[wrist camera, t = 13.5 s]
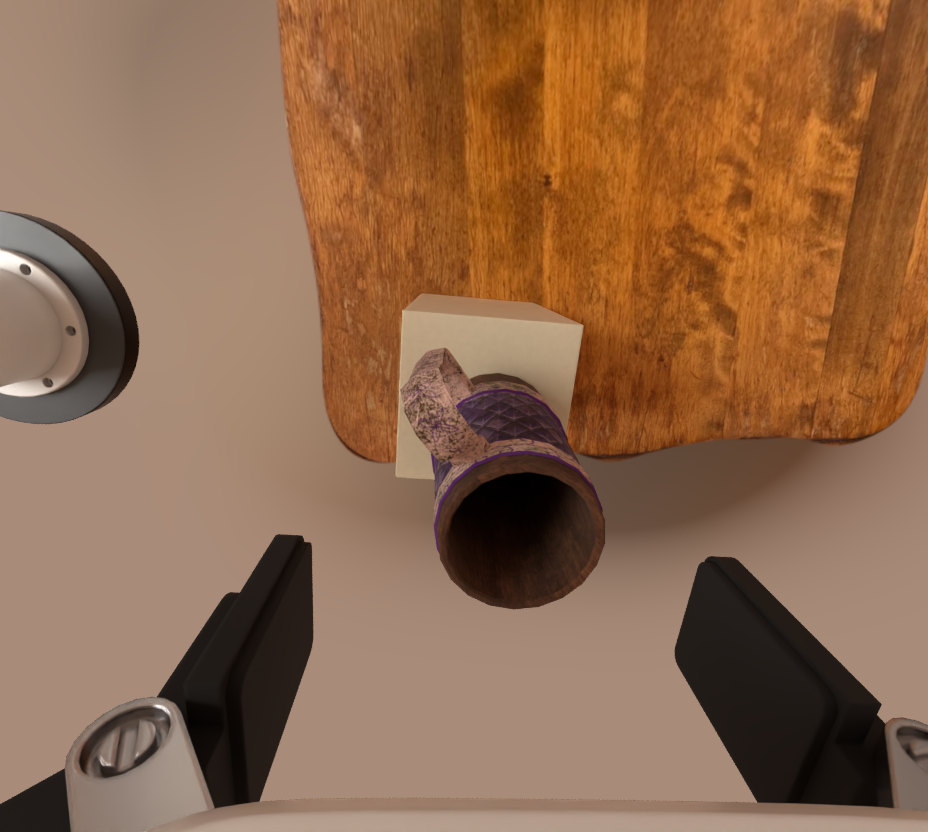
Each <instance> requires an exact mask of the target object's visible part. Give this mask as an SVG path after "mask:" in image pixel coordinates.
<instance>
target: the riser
mask: <svg viewBox="0 0 928 832" xmlns="http://www.w3.org/2000/svg"><path fill="white" fill-rule="evenodd" d="M583 327H584V326H583V325H582V324H580V323H577V322H575V321H573V320H571V319H569V318H566V317H564V316H562V315H560V314H557V313H555V312H553V311H551V310H549V309H546V308H544V307H542V306H540V305H538V304H535V303H530V302H518V301H506V300H494V299H483V298H471V297H459V296H447V295H435V294H424V293H422V294H420V295H419V296H418V297H417V298H416V299H415V300H414V301H413V302H412V303H410V304H409V305H408V306H407V307H406V308H405V309H404V310H403V311H402V331H401V355H400V379H399V403H398V427H397V451H396V477H399V478H415V479H429V480H435V475H434V473H433V467H432V459H431V453H430V451H429V450H428V449H427V448H426V446H425V445H424V444H423V443H422V442H421V440H420V439H419V438H418V437H417V435H416V434H415V432H414V430H413V428H412V426H411V424H410V422H409V420H408V418H407V416H406V414H405V412H404V407H403V402H402V397H401V392H400V389H401V388H402V387H403V386H404V385H405V384H406V383H407V382H408V381H409V378H410V376H411V374H412V371H413V369H414V366H415V364H416V363H417V362H418V361H419V360H420V358H421V357H422V356H423V355H424V354H425V353H426V352H427V351H430V350H435V349H440V348H447V349H448V350H449V351H450V353H451V354H452V355H453V357H454V358H455V359H456V361H457V362H458V363H459V365H460V366H461V368H462V369H463V371H464V372H465V374H466V375H467V377H468V378H469V379H471V378H473V377H475V376H478V375H483V374H493V373H501V374H506V375H511V376H515V377H518V378H520V379H522V380H523V381H525V382H527V383H528V384H530V385H532V386H533V387H534V388H535V389H536V390H537V391H538V392H539V393H540V395H542V397H543V398H544V399H545V400H546V401H547V402H548V403H549V405H550V406H551V407H552V408H553V409H554V410H555V412H556V414H557V416H558V417H559V419H560V421H561V424H562V426H563V429H564V431H565V434H566V432H567V426H568V420H569V414H570V407H571V401H572V395H573V389H574V383H575V377H576V370H577V364H578V358H579V352H580V346H581V340H582V333H583Z"/></svg>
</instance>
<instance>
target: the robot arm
mask: <svg viewBox="0 0 928 832" xmlns="http://www.w3.org/2000/svg"><path fill="white" fill-rule="evenodd" d="M88 349H89V335H88V327H87V323H86V320H85V317H84V314H83V311H82V309H81V307H80V305H79V303H78V301H77V299H76V298H75V297H74V295H73V294H72V292H71V291H70V290H69V288H68V287H67V286H66V284H65V283H64V282H63V281H62V280H61V279H60V278H59V277H58V276H57V275H56V274H55V273H53V272H52V271H51V270H49V269H48V268H47V267H46V266H44V265H43V264H42V263H40V262H38V261H36V260H34V259H32V258H31V257H29V256H27V255H24V254H21V253H19V252H16V251H13V250H9V249H4V248H0V393H2V394H5V395H12V396H18V397H34V396H39V395H44V394H48V393H50V392H53V391H56V390H59V389H61V388H63V387H64V386H66V385H68V384H69V383H71V382H72V381H73V380H74V379H75V378H76V377H77V376H78V375H79V373H80V371H81V370H82V368H83V366H84V364H85V361H86V358H87V355H88ZM312 590H313V589H312V545H311V543H310V542H304V539H303V536H299V535H280V534H278V535H276V536H275V537H274V539H273V541H272V542H271V544H270V545H269V547H268V548H267V550H266V552H265V553H264V555H263V556H262V558H261V560H260V561H259V563H258V564H257V566H256V568H255V569H254V571H253V572H252V574H251V576H250V577H249V579H248V581H247V582H246V584H245V585H244V587H243V589H242V590H241V592H240V593H233V592H230V593H228V594H226V595H225V596H224V597H223V599H222V600H221V601H220V603H219V605H218V606H217V607H216V609H215V610H214V612H213V613H212V615H211V616H210V618H209V620H208V621H207V622H206V624H205V626H204V627H203V628H202V630H201V631H200V633H199V634H198V636H197V637H196V639H195V641H194V642H193V643H192V645H191V647H190V648H189V649H188V651H187V652H186V654H185V656H184V657H183V659H182V660H181V661H180V663H179V664H178V666H177V668H176V669H175V671H174V672H173V673H172V675H171V676H170V678H169V679H168V681H167V682H166V684H165V685H164V687H163V688H162V690H161V692H160V693H159V695H158V696H157V697H148V698H141V699H135V700H133V701H130V702H127V703H124V704H121V705H119V706H117V707H115V708H113V709H112V710H110V711H108V712H106V713H105V714H103V715H101V716H100V717H99V718H98V719H97V720H95V721H94V722H93V723H92V724H90V725H89V726H88V727H87V728H86V729H85V730H84V731H83V732H82V733H81V735H80V736H79V737H78V738H77V739H76V740H75V741H74V743H73V745H72V747H71V749H70V751H69V753H68V755H67V759H66V765H65V769H63V770H61V771H59V772H57V773H56V774H54V775H52V776H50V777H48V778H47V779H45V780H43V781H41V782H39V783H38V784H36V785H34V786H32V787H30V788H29V789H27V790H25V791H23V792H22V793H20V794H18V795H16V796H14V797H12V798H11V799H9V800H7V801H5V802H3V803H2V804H0V832H928V725H927V724H924V723H922V722H919V721H916V720H911V719H907V718H893V719H891V720H889V721H888V722H887V723H886V724H885V723H884V722H883V721H882V720H881V719H880V718H879V717H878V716H877V713H878V711H879V709H880V707H881V703H880V702H879V701H878V700H877V699H876V698H875V697H874V696H873V695H872V694H871V693H870V692H869V691H868V690H867V689H866V688H865V687H864V686H863V685H862V684H861V683H860V682H859V681H858V680H857V679H856V678H855V677H854V676H853V675H852V674H851V673H850V672H849V671H848V670H847V669H846V668H845V667H844V666H843V665H842V664H841V663H840V662H839V661H838V660H837V659H836V658H835V657H834V656H833V655H832V654H831V653H830V652H829V651H828V650H827V649H826V648H825V647H824V646H823V645H822V644H821V643H820V642H819V641H818V640H817V639H816V638H815V637H814V636H813V635H812V634H811V633H810V632H809V631H808V630H807V629H806V628H805V627H804V626H803V625H802V624H801V623H800V622H799V621H798V620H797V619H796V618H795V617H794V616H793V615H792V614H791V613H790V612H789V611H788V610H787V609H786V608H785V607H784V606H783V605H782V604H781V603H780V602H779V601H778V600H777V599H776V598H775V597H774V596H773V595H772V594H771V593H770V592H769V591H768V590H767V589H766V588H765V587H764V586H763V585H762V584H761V583H760V582H759V581H758V580H757V579H756V578H755V577H754V576H753V575H752V574H751V573H750V572H749V571H748V570H747V569H746V568H745V567H744V566H743V565H742V564H741V563H740V562H739V561H738V560H737V559H735V558H732V557H714V556H711V557H708V558H707V559H706V560H705V562H702V563H700V564H699V566H698V569H697V573H696V576H695V580H694V583H693V587H692V590H691V594H690V597H689V601H688V605H687V608H686V611H685V615H684V618H683V622H682V625H681V629H680V632H679V636H678V639H677V643H676V646H675V659H676V663H677V665H678V667H679V668H680V670H681V672H682V674H683V676H684V677H685V679H686V681H687V682H688V684H689V686H690V688H691V689H692V691H693V693H694V694H695V696H696V698H697V699H698V701H699V703H700V705H701V706H702V708H703V710H704V712H705V713H706V715H707V717H708V718H709V720H710V722H711V723H712V725H713V727H714V728H715V730H716V732H717V734H718V736H719V737H720V739H721V741H722V742H723V744H724V746H725V748H726V749H727V751H728V753H729V754H730V756H731V758H732V760H733V761H734V763H735V765H736V766H737V768H738V770H739V771H740V773H741V775H742V777H743V778H744V780H745V782H746V783H747V785H748V787H749V789H750V790H751V792H752V794H753V795H754V797H755V799H756V800H757V802H758V803H745V802H743V803H742V802H697V801H694V802H693V801H639V800H638V801H636V800H569V799H567V800H565V799H473V798H472V799H470V798H463V799H462V798H341V799H340V798H336V799H295V800H279V801H263V802H259V801H260V798H261V795H262V792H263V789H264V786H265V783H266V780H267V777H268V775H269V771H270V768H271V766H272V763H273V760H274V757H275V754H276V751H277V748H278V746H279V742H280V740H281V736H282V734H283V731H284V728H285V725H286V722H287V719H288V716H289V714H290V711H291V708H292V705H293V702H294V699H295V696H296V693H297V690H298V687H299V685H300V682H301V679H302V676H303V673H304V670H305V667H306V664H307V661H308V658H309V656H310V652H311V648H312V643H313V592H312Z"/></svg>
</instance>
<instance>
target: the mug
mask: <svg viewBox="0 0 928 832" xmlns="http://www.w3.org/2000/svg"><path fill="white" fill-rule="evenodd" d="M400 392H401V397H402V402H403V407H404V412H405V414H406V416H407V418H408V420H409V422H410V424H411V426H412V428H413V430H414V432H415V434H416V435H417V437H418V438H419V439H420V440H421V442H422V443H423V444H424V445H425V446H426V448H427V449H428V450H429V451H430V453H431V459H432V467H433V473H434V475H435V506H434V511H433V515H434V531H435V538H436V545H437V550H438V552H439V554H440V560H441V562H442V564H443V566H444V567H445V569H446V571H447V573H448V575H449V577H450V579H451V580H452V581H453V582H454V583H455V584H456V585H458V586H459V587H460V588H461V589H462V590H463V591H464V592H465V593H466V594H467V595H469V596H471V597H473V598H475V599H477V600H479V601H481V602H484V603H486V604H488V605H490V606H497V607H503V608H509V609H522V608H532V607H540V606H542V605H545V604H548V603H550V602H553V601H556V600H558V599H561V598H563V597H564V596H566V595H567V594H569V593H570V592H571V591H573V590H574V589H576V588H577V587H578V586H580V585H581V584H582V583H583V582H584V581H585V580H586V578H587V577H588V575H589V574H590V573H591V572H592V571H593V569H594V568H595V567H596V566H597V563H598V560H599V557H600V555H601V552H602V550H603V547H604V544H605V519H604V517H603V514H602V506H601V504H600V501H599V499H598V496H597V493H596V491H595V488H594V486H593V484H592V482H591V480H590V478H589V476H588V474H587V473H586V472H585V471H584V470H583V468H582V467H581V466H580V464H579V462H578V460H577V458H576V456H575V454H574V453H573V451H572V449H571V447H570V445H569V443H568V442H567V436H566V434H565V431H564V429H563V426H562V424H561V421H560V419H559V417H558V416H557V414H556V412H555V410H554V409H553V408H552V407H551V406H550V405H549V403H548V402H547V401H546V400H545V399H544V398H543V397H542V395H540V393H539V392H538V391H537V390H536V389H535V388H534V387H533V386H532V385H530V384H528V383H527V382H525V381H523V380H522V379H520V378H518V377H515V376H511V375H506V374H501V373H493V374H483V375H478V376H475V377H473V378H471V379H469V378H468V377H467V375H466V374H465V372H464V371H463V369H462V368H461V366H460V365H459V363H458V362H457V361H456V359H455V358H454V357H453V355H452V354H451V353H450V351H449V350H448V349H447V348H440V349H435V350H430V351H427V352H426V353H425V354H424V355H423V356H422V357H421V358H420V360H419V361H418V362H417V363H416V364H415V366H414V369H413V371H412V374H411V376H410V378H409V381H408V382H407V383H406V384H405V385H404V386H403V387H402V388H401V389H400Z"/></svg>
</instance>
